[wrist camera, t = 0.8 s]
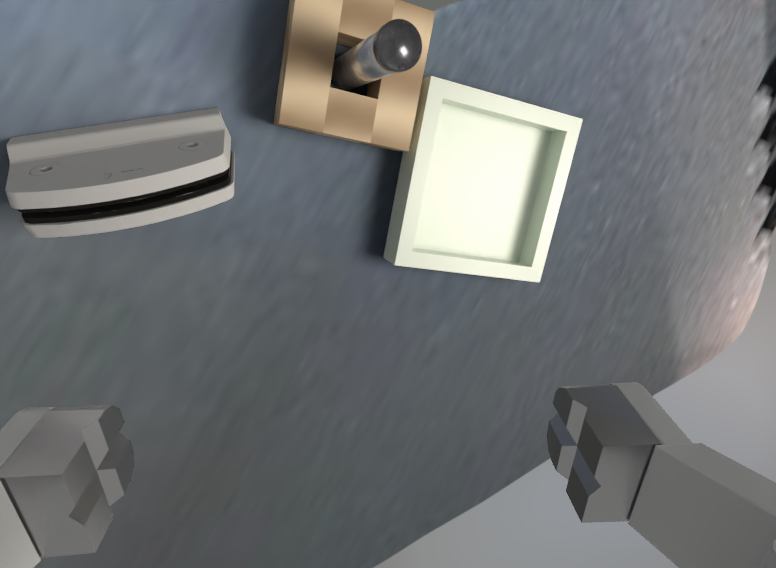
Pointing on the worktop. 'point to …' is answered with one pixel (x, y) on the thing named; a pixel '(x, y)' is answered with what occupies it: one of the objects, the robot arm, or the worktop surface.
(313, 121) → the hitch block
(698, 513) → the robot arm
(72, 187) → the grey slotted holder
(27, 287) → the worktop surface
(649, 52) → the worktop surface
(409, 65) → the steel pin
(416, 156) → the sage tray
